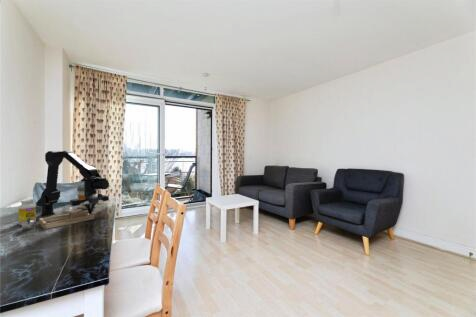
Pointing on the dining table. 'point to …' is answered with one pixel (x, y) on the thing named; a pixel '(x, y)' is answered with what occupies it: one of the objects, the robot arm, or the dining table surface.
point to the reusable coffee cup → (82, 195)
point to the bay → (64, 222)
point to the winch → (27, 224)
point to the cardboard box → (76, 213)
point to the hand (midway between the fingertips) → (90, 214)
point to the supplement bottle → (27, 210)
